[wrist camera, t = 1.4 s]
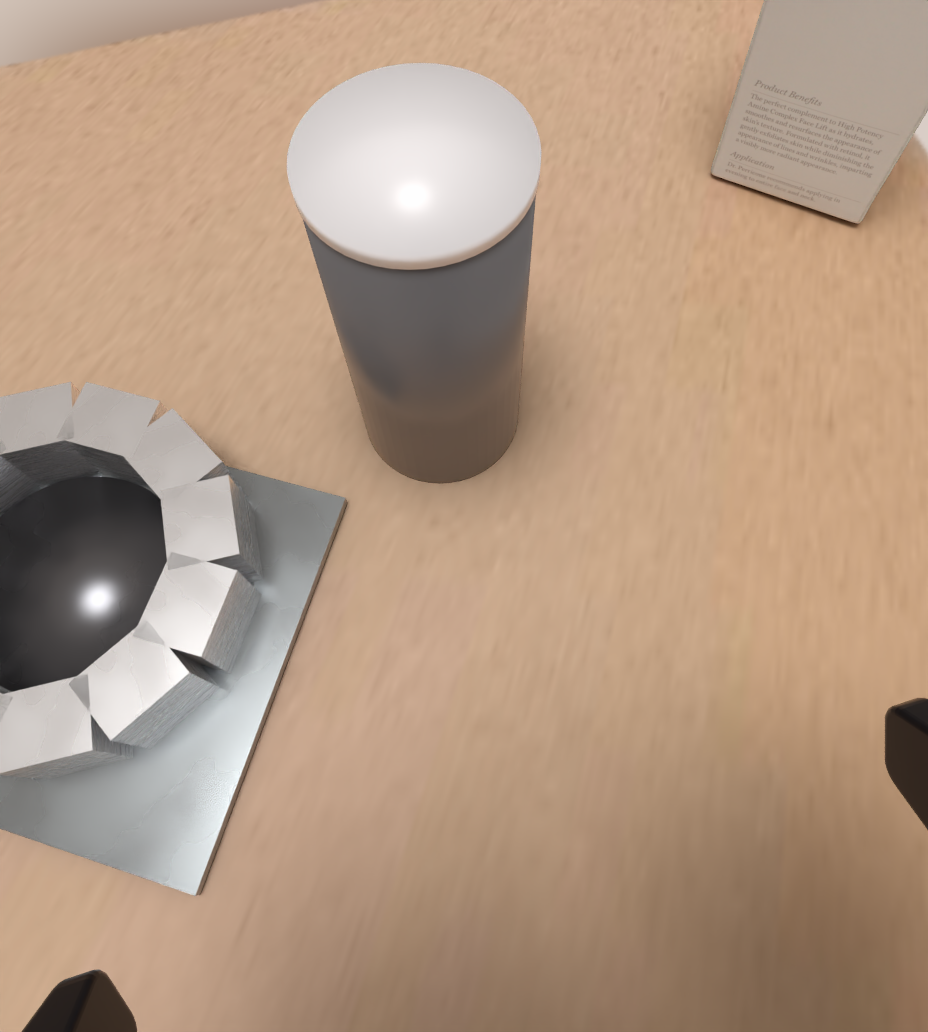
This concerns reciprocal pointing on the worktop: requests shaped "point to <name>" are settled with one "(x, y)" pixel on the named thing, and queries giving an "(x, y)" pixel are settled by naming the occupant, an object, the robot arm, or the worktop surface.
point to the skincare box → (827, 101)
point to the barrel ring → (139, 626)
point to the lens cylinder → (424, 255)
